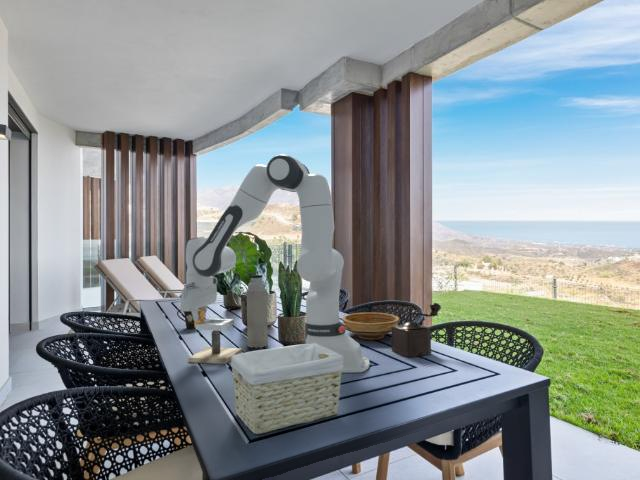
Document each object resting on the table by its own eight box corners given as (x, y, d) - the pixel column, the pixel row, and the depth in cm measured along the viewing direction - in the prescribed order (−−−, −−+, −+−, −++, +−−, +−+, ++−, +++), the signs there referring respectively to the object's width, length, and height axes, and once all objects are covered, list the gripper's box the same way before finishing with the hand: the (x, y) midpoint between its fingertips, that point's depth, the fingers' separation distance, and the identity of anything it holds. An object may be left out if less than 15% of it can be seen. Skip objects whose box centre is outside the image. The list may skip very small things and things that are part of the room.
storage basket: (315, 394, 113) (314, 340, 113) (347, 416, 99) (346, 354, 99) (229, 413, 101) (228, 353, 101) (252, 442, 87) (250, 372, 87)
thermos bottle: (265, 341, 170) (263, 273, 170) (270, 346, 163) (268, 275, 163) (245, 343, 167) (244, 274, 167) (250, 348, 160) (248, 276, 160)
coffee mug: (206, 326, 200) (206, 306, 200) (192, 330, 193) (191, 309, 193) (190, 324, 207) (189, 304, 207) (175, 328, 199) (175, 307, 199)
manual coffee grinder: (410, 358, 143) (409, 307, 143) (390, 351, 153) (390, 302, 153) (444, 352, 150) (443, 303, 150) (423, 345, 160) (422, 299, 160)
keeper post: (242, 352, 155) (241, 325, 155) (225, 363, 141) (225, 334, 141) (207, 350, 158) (207, 324, 158) (188, 361, 144) (187, 333, 144)
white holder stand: (233, 324, 153) (233, 308, 153) (221, 330, 143) (221, 313, 143) (203, 323, 156) (203, 307, 156) (189, 329, 146) (189, 312, 146)
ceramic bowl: (326, 334, 181) (326, 316, 181) (367, 326, 196) (366, 309, 195) (375, 348, 157) (374, 327, 157) (416, 338, 172) (416, 318, 172)
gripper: (192, 285, 140) (192, 325, 140) (219, 278, 160) (220, 314, 160) (175, 284, 141) (176, 325, 141) (204, 278, 161) (205, 313, 161)
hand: (199, 319), depth 151 cm, fingers closed on white holder stand, 3 cm apart
